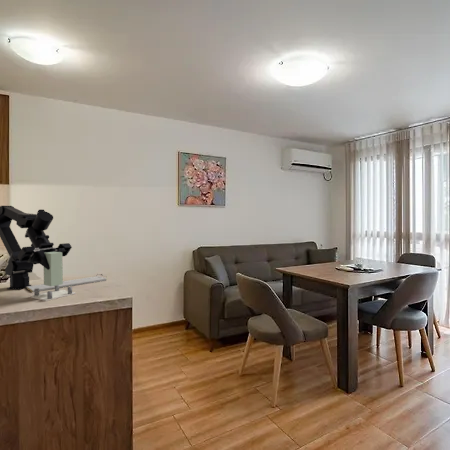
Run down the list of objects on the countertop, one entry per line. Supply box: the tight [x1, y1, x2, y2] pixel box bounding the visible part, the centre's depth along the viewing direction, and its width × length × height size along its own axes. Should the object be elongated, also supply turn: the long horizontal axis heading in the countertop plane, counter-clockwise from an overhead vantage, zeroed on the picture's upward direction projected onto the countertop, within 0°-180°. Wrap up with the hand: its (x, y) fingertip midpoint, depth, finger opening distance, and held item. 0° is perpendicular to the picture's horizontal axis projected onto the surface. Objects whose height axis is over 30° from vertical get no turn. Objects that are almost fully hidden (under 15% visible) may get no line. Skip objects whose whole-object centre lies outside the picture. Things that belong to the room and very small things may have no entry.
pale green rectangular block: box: [43, 252, 64, 286], centre depth 119 cm, size 5×4×12 cm
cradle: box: [30, 285, 77, 302], centre depth 119 cm, size 10×12×3 cm
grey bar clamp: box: [25, 273, 108, 293], centre depth 139 cm, size 31×3×12 cm
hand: (55, 268), depth 118 cm, fingers closed on pale green rectangular block, 4 cm apart
